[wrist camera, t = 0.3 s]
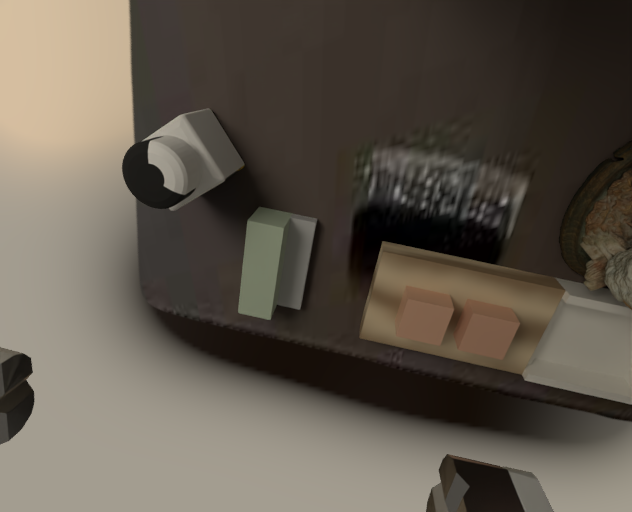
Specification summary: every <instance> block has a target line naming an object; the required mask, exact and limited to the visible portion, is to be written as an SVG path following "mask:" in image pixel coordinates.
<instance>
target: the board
mask: <svg viewBox="0 0 632 512" xmlns="http://www.w3.org/2000/svg"><path fill="white" fill-rule="evenodd" d="M406 285H407V286H411V287H416V288H421V289H425V290H430V291H434V292H439V293H444V294H448V295H450V297H451V300H452V303H453V306H454V311H453V314H452V316H451V319H450V322H449V324H448V327H447V329H446V332H445V335H444V337H443V340H442V342H441V345H440V346H437V345H433V344H429V343H424V342H420V341H415V340H411V339H406V338H402V337H397V336H396V331H395V319H396V316H397V312H398V309H399V306H400V303H401V300H402V297H403V293H404V290H405V287H406ZM565 291H566V290H565V289H564V288H563V287H562V286H561V284H560V283H559V282H558V281H557V280H556V279H555V278H554V277H550V276H545V275H540V274H535V273H531V272H526V271H521V270H517V269H512V268H507V267H503V266H498V265H493V264H488V263H484V262H479V261H474V260H470V259H465V258H460V257H455V256H451V255H446V254H441V253H437V252H432V251H427V250H423V249H418V248H413V247H408V246H404V245H399V244H394V243H390V242H385V241H383V242H382V246H381V249H380V253H379V257H378V261H377V264H376V268H375V272H374V275H373V279H372V283H371V287H370V290H369V294H368V298H367V301H366V305H365V309H364V313H363V316H362V320H361V324H360V338H361V339H366V340H370V341H375V342H379V343H384V344H388V345H393V346H397V347H401V348H406V349H410V350H415V351H419V352H424V353H428V354H433V355H437V356H441V357H446V358H450V359H455V360H459V361H464V362H468V363H473V364H477V365H481V366H486V367H490V368H495V369H499V370H504V371H508V372H512V373H517V374H521V375H522V374H523V372H524V370H525V368H526V366H527V364H528V362H529V360H530V358H531V356H532V355H533V353H534V351H535V349H536V347H537V345H538V343H539V341H540V339H541V337H542V335H543V333H544V331H545V330H546V328H547V326H548V324H549V322H550V320H551V318H552V316H553V314H554V312H555V310H556V308H557V306H558V305H559V303H560V301H561V299H562V297H563V295H564V293H565ZM467 299H471V300H476V301H480V302H485V303H490V304H494V305H499V306H503V307H508V308H512V310H513V312H514V313H515V315H516V317H517V319H518V320H519V322H520V325H519V327H518V329H517V331H516V334H515V336H514V338H513V340H512V342H511V344H510V346H509V348H508V350H507V352H506V354H505V356H504V358H503V360H500V359H496V358H491V357H487V356H482V355H478V354H473V353H469V352H464V351H460V350H458V349H457V345H456V342H455V339H454V335H453V333H454V331H455V328H456V326H457V323H458V321H459V318H460V316H461V313H462V311H463V308H464V306H465V303H466V301H467Z"/></svg>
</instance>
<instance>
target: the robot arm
mask: <svg viewBox="0 0 632 512" xmlns="http://www.w3.org/2000/svg"><path fill="white" fill-rule="evenodd" d="M32 373H33V371H32V363H31V358H30V357H28V356H27V355H25V354H23V353H19V352H16V351H12V350H8V349H4V348H1V347H0V444H2V443H5V442H7V441H9V440H10V439H11V438H12V437H14V436H15V435H16V434H17V433H18V432H19V431H20V430H21V429H22V428H23V426H24V425H25V423H26V421H27V420H28V418H29V417H30V415H31V413H32V409H33V405H34V391H33V389H32V388H31V386H30V385H29V384H28V382H27V381H26V379H27V378H28V377H29V376H30V375H31V374H32ZM439 473H440V479H441V483H440V484H438V485H436V486H435V487H433V488H432V489H431V493H430V496H429V499H428V502H427V509H426V512H554V511H553V509H552V507H551V505H550V503H549V501H548V499H547V497H546V495H545V493H544V491H543V489H542V487H541V485H540V483H539V481H538V479H537V478H536V477H535V476H534V475H533V474H532V473H531V472H526V471H522V470H517V469H512V468H508V467H500V466H497V465H492V464H488V463H484V462H479V461H475V460H471V459H466V458H462V457H458V456H453V455H449V454H447V455H446V456H445V458H444V459H443V460H442V463H441V466H440V468H439Z"/></svg>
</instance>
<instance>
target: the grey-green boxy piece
mask: <svg viewBox="0 0 632 512" xmlns="http://www.w3.org/2000/svg"><path fill="white" fill-rule="evenodd" d="M316 224H317V219H316V218H311V217H306V216H302V215H297V214H292V213H287V212H283V211H278V210H273V209H268V208H264V207H259V208H258V209H257V210H256V211H255V212H254V214H253V215H252V216H251V217H250V218H249V219H248V221H247V230H246V240H245V250H244V260H243V269H242V279H241V289H240V298H239V308H238V313H241V314H246V315H250V316H255V317H259V318H263V319H268V320H271V317H272V315H273V313H274V310H275V308H276V306H277V305H281V306H285V307H290V308H294V309H299V310H300V308H301V305H302V300H303V294H304V289H305V284H306V278H307V273H308V267H309V262H310V257H311V251H312V246H313V240H314V235H315V229H316Z"/></svg>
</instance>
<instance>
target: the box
mask: <svg viewBox="0 0 632 512" xmlns="http://www.w3.org/2000/svg"><path fill="white" fill-rule="evenodd" d="M555 279H556V280H557V281H558V282H559V283H560V284H561V286H562V287H563V288H564V289H565V290H566V291H565V293H564V295H563V297H562V299H561V301H560V303H559V305H558V306H557V308H556V310H555V312H554V314H553V316H552V318H551V320H550V322H549V324H548V326H547V328H546V330H545V331H544V333H543V335H542V337H541V339H540V341H539V343H538V345H537V347H536V349H535V351H534V353H533V355H532V356H531V358H530V360H529V362H528V364H527V366H526V368H525V370H524V372H523V374H522V376H523V378H524V380H525V381H530V382H534V383H539V384H543V385H547V386H552V387H556V388H561V389H565V390H570V391H574V392H578V393H583V394H587V395H592V396H596V397H601V398H605V399H609V400H614V401H618V402H623V403H627V404H632V310H631V309H630V308H629V307H627V306H626V305H625V303H624V302H621V301H618V300H616V299H615V298H614V296H613V295H612V292H611V290H610V289H606V288H599V289H597V290H592V291H590V290H589V289H588V288H587V287H586V286H585V285H584V284H583V283H578V282H573V281H568V280H564V279H559V278H555Z"/></svg>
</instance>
